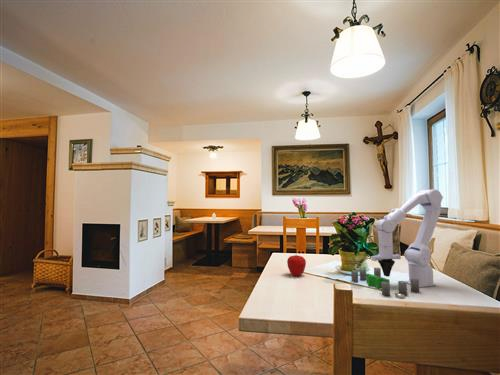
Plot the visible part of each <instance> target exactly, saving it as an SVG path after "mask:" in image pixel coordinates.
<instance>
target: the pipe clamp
mask: <svg viewBox="0 0 500 375" xmlns="http://www.w3.org/2000/svg"><path fill="white" fill-rule="evenodd" d="M366 278H367V280H366V284H367V286H368V287H376V289H377V290H380V289H381V290H382V284H381V282H383V281H384V282H389V283H390V279H389V278H385V277H382V276H381V277H379V276H375V275H374V274H372V273H366Z"/></svg>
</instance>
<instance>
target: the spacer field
mask: <svg viewBox="0 0 500 375" xmlns="http://www.w3.org/2000/svg"><path fill="white" fill-rule="evenodd" d="M381 270H382V268H381V267H374V268H373V275H375V276H379V277H382V271H381ZM350 274H351V275H350V276H351V277H350V278H351V282H352V281H354V282H353V283H358V282H359V281H362V280H366V281H367V277H366V274H367V269H366V268H360V269H359V270H356V269H352V270H351V272H350ZM405 281H406V280H405ZM405 281H404V280H398V281H397V284H398V286H397V288H398V293H403V294H404V295H405V297H406V296H408V288H407V287H408V286H407V284H408V283H407V282H405ZM381 284H382V288H381V295H382V296H383V297H390V296H391V284H390V283H389V282H384V281H383V282H381ZM410 291H411V292H412V293H415V294H419V293H420V291H421V290H420V287H419V280H418V279H411V284H410Z"/></svg>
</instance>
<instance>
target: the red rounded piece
mask: <svg viewBox="0 0 500 375" xmlns="http://www.w3.org/2000/svg"><path fill="white" fill-rule="evenodd" d="M286 263H287V264H286V265H287V267H288V270H289V272H290V274H291V275H292V276H294V277H300V276H301V275H303V274H304V273H305V269H306V264H307V261H306V259H305V258H304V257H303V256H302V255H297V254H295V255H290V256H289V257H288V258H287V260H286Z"/></svg>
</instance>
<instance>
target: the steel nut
mask: <svg viewBox="0 0 500 375" xmlns="http://www.w3.org/2000/svg"><path fill="white" fill-rule="evenodd" d="M394 294H395V298H397V299H405V297H406V296H405V295H404V294H403V293H399V292H395V293H394Z"/></svg>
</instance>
